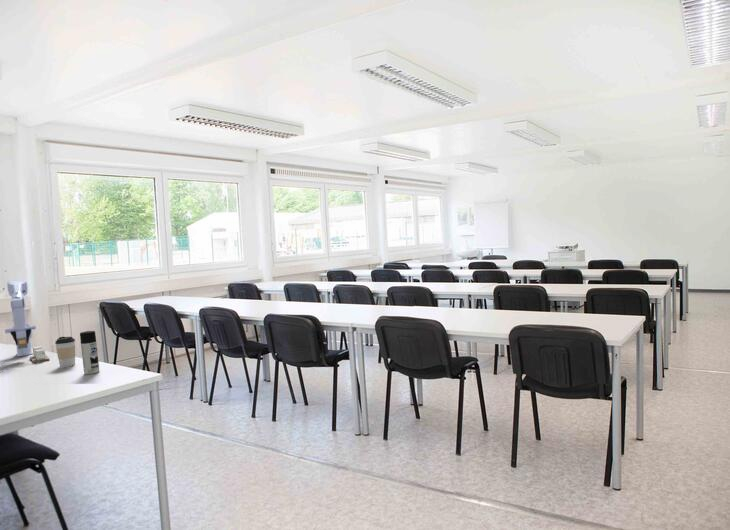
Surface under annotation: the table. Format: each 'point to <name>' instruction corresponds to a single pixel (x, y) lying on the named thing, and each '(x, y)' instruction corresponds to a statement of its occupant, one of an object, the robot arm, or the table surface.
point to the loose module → (22, 342)
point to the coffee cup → (66, 351)
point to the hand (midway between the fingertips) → (22, 343)
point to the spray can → (89, 352)
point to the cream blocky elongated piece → (39, 355)
